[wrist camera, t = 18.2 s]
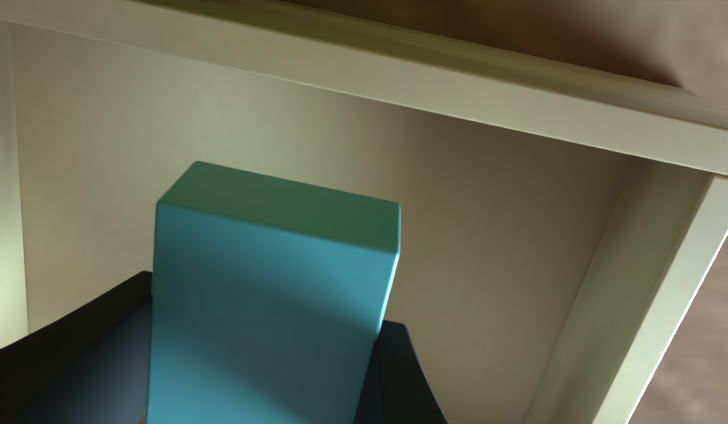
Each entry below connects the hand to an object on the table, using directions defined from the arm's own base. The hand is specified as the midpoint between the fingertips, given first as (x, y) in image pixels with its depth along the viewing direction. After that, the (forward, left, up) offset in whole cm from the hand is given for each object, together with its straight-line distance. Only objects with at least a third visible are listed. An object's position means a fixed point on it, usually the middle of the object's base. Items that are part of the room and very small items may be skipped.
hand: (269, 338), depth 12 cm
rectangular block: (0, 0, -1) cm, 1 cm away
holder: (-4, 0, -4) cm, 6 cm away
